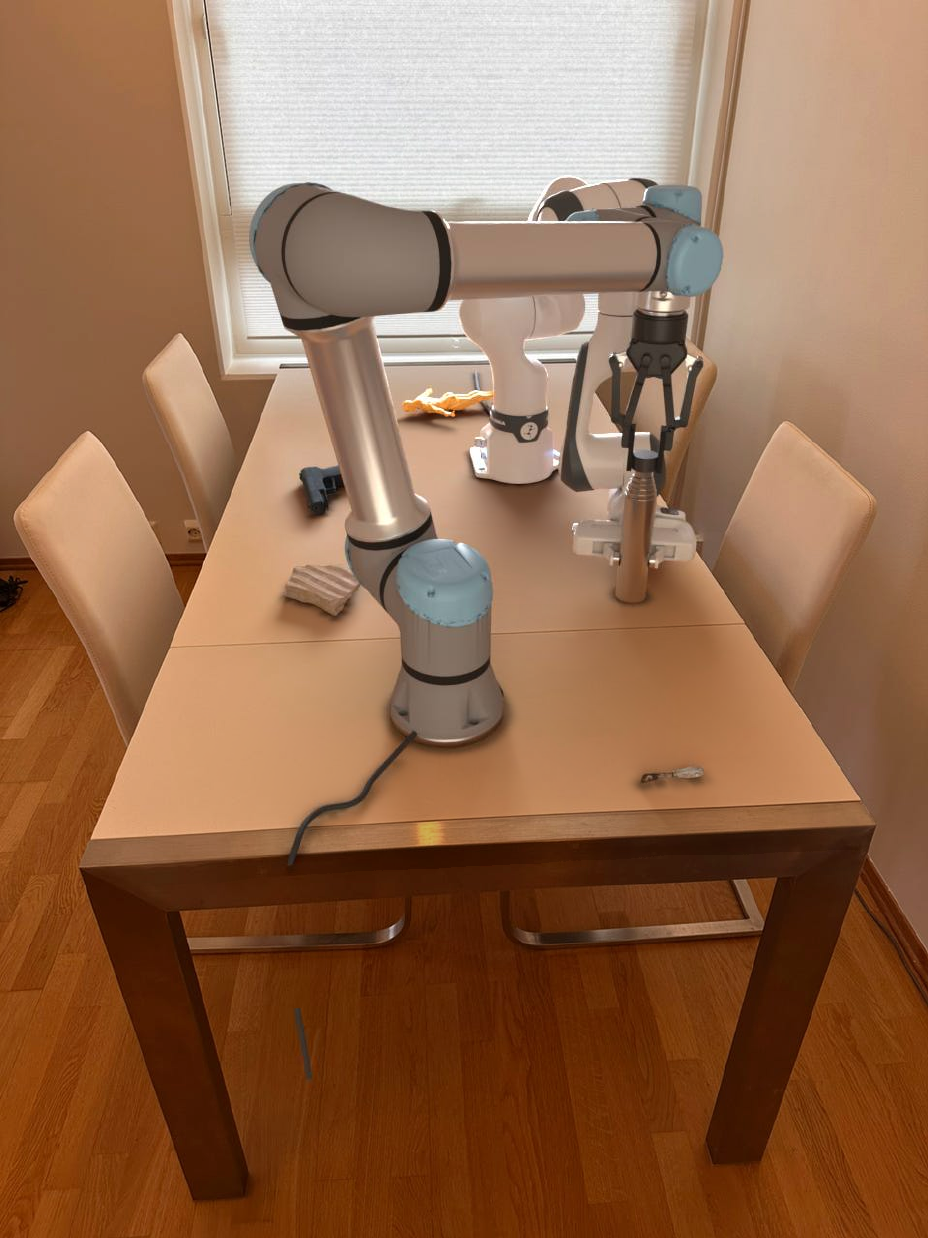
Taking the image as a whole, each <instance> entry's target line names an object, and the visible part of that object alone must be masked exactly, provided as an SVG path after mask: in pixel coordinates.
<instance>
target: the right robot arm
mask: <svg viewBox="0 0 928 1238" xmlns="http://www.w3.org/2000/svg"><path fill="white" fill-rule="evenodd" d="M655 185H659V184H658V183H657V182H656V181H654V180H652V179H649V178H642V177H631V178H628V179H615V180H605V181H599V182H596V183H594V184H589V183H588V182H586V181H585V180H583V179H581V178H579V177H576V176H572V175H564V176H560V177H557V178H555V179H554V180H552V181H551V182H550V183H549V184H548V185H547V186H546V188H545V189H544V190H543V192H542V194H540V195H541V196H540V197H539V199H538V200H537V202H536V203H535V205H534V207H533V209H532V211H531V212H530V214H529V217H528V220H527V222H565V221H566V220H567V218H568V217H569V216H570V215H572V214H573V213H575V212H581V211H587V210H590V209H592V208H594V209H609V208H624V207H636V206H640V205H643V203H642V202H643V200H644V195H645V191H646V189H647V188H648V187H651V186H655ZM597 294H598V295H597V297H598V298H597V305H598V306H597V321H596V326H595V329H594V331H593V333H592V335H591V337H590V339H589V340H587V341H585V342H584V343H582V344H581V346H580V348H579V350H578V353H577V357H576V360H575V361H576V362H575V368H574V374H573V377H572V381H571V382H572V383H571V391H570V396H569V403H568V404H569V405H568V411H567V418H566V428H565V435H564V438H563V441H562V445H561V447H560V450H559V452H558V451H557V450H555V442H554V441H555V439H554V436H555V435H554V432H553V430H552V429H551V428H550V427H549V419H550V413H549V406H548V387H549V374H548V370H547V369H546V367H545V365H544V364H543V363H542V362H541V361H540V360H538V359H536V358H534V357H532V356H531V355H528V354H526V352H525V342H526V341H531V340H541V339H548V338H556V337H559V336H562V335H565V334H567V333H570V332H574V331H575V330H577V329H578V328H579V326H580V325H581V324H582V321H583V320H584V316H585V314H586V300H585V296H584V294H576V295H556V296H535V297H514V298H493V299H472V300H461V302H460V306H459V310H458V318H459V319H458V320H459V324H460V327H461V330H462V332H463V333H464V335H465V336H466V337H467V338H468V340H470V341H471V342H472V343H474V344H475V345H476V346H477V347H479V348H480V349H481V350H482V352H483V353H484V355H485V357H486V359H487V361H488V363H489V365H490V366H489V367H490V369H491V374H492V375H491V376H492V391H493V398H492V402H493V403H491V404H492V406H491V408H490V406H489V405H488V404H487V402H486V400H485V401H482V402H481V403H482V405H483V407H484V408H485V410H486V411H487V413H488V414H489V422H488V423H487V424H486V425H485V426H483V427H482V428H481V430H480V431H479V436H478V437H477V436H476V437H474V446H473V447H470V449H469V456H470V460H471V464H472V467H473V471H474V475H475V477H477V478H480V479H489V480H492V481H493V480H494V481H497V482H500V483H506V484H518V485H523V484H524V485H525V484H532V483H539V482H542V481H544V480H545V479H547V478H549V477H550V476H551V475H552V473H553V472H554V471H556V470H558V474H559V477H560V481H561V482H562V483H563V484H564V486H566V487H568V489H570V490H572V491H573V492H575V493H583V492H592V491H595V490H609V492H608V498H607V517H606V519H593V518H585V519H582V520H580V521H579V522H575V523H573V524H572V526H571V532H572V534H573V536H572V552H573V553H574V554H575V555H577V556H588V557H602V558H604V559H605V560H606V561H608V562H609V564H608V565H609V566H611V567H612V566H613V567H614V566H615V567H618V566H619V551H620V541H621V531H622V521H623V511H624V501H625V492H626V489H627V487H628V485H629V482H630V481H631V478H632V477H633V474H634V473H635V471H634V470H633V469H631V471H626V468H627V458H628V448H622V446H621V439H622V432H621V433H601V434H599V433H598V434H595V433H592V432H589V429H590V421H591V416H592V410H593V409H592V408H593V402H594V397H595V393H596V391H597V390H598V388H599V386H601V384H603V383H604V382H605V381H607V380H608V379H610V378H612V371H611V368H610V365H609V356H610V354H611V353H612V352H616V353H619V352H621V351H624V350H626V349H627V346H628V345H629V343H630V341H631V333H632V322H633V313H634V311H635V310H636V309H638V308H637V307H636V306H635V305H634V303H635V292H618V293H597ZM632 368H634V367H633V365H632V363H631V362H630V360H629V358H627V359H626V360H625V366H624V367H623V368H622V372H625V371H627V370H629V369H632ZM473 374H474V382H475V388H476V391H480V392H482V391H481V387H480V382H479V376H478V371H477V370H474V372H473ZM659 441H660V439H659V438H658V437H657V436H656V435H655V434H654V433H652V432H650V431H641V432H640V431H635V440H634V449H633V452H634V451H637V450H651V451H654V452H656V453H658V449H659ZM555 456H557V457H558V460H557V459H555ZM652 475H653V476H654V478H653V479H654V480H655V485H656V489H657V498H658V497H659V496H660V495H661V493H662V492H663V490H664V488H665V486H666V479H667V469H666V459H665V454H664V455H663V463H662V472H661V473H656V471H654V472H652ZM686 515H687V514H686V513H685V512H684V511H682V510H678V509H674V508H669V507H666V506H665V507H664V506H662V505H660V504H658V500H657V501H656V510H655V518H654V526H653V535H652V543H651V551H650V559H649V568H648V569H659V564H661V563H663V562H664V561H669V562H684V563H689V562H692V561H693V560H694V559H695V558H696V557H695V556H696V553H697V552H696V551H697V541H698V540H697V537H696V534H695V531H694V529H693V527H692V525H691V524H690V523H689V522H688V521H687V520H686V519H687V518H686V517H687V516H686Z"/></svg>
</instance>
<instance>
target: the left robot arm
mask: <svg viewBox="0 0 928 1238" xmlns="http://www.w3.org/2000/svg"><path fill="white" fill-rule="evenodd" d="M642 203H643V205H640V206H636V207H624V208H609V209H594V208H592V209H590V210H587V211H581V212H575V213H573V214H572V215H570V216H569V217H568V218H567V220H566V221H565V222H528V221H446V220H445V219H444V217H443V216H442V215H441V213H439V212H437V211H435V210H418V209H417V210H415V209H405V208H399V207H394V206H389V205H386V204H382V203H379V202H376V201H373V200H368V199H366V198H363V197H360V196H357V195H354V194H350V193H346V192H341V191H338V190H334V189H332V188H331V187H328V186H327V185H325V184H322V183H318V182H312V181H305V182H291V183H288V184H284V185H281V186H279V187H277V188H275V189H274V190H272V191H271V192H269V193H268V194H267V195H266V196H265V197H264V198H263V199H262V200H261V202H259V204H258V206H257V207H256V209H255V211H254V214H253V216H252V217H251V221H250V225H249V231H248V232H249V233H248V242H249V243H248V244H249V249H250V254H251V257H252V260H253V262H254V264H255V266H256V267H257V269H258V272H259V273H260V274H261V276H262V277H263V279H265V280H266V281H267V282H268V283H269V284H270V287H271V290H272V293H273V294H272V295H273V297H274V300H275V303H276V306H277V311H278V313H279V316H280V319H281V322H282V325H283V328H284V330H286V331H288V332H289V333H291V334H293V335H295V336H297V337H298V338H300V340H301V342H302V346H303V351H304V354H305V357H306V360H307V364H308V367H309V370H310V373H311V378H312V380H313V384H314V387H315V391H316V395H317V397H318V401H319V404H320V407H321V410H322V415H323V418H324V421H325V424H326V429H327V431H328V434H329V438H330V442H331V445H332V449H333V452H334V455H335V458H336V462H337V465H339V469H340V472H341V476H342V479H343V482H344V486H343V487H344V489H345V492H346V495H347V499H348V503H349V506H350V509H351V511H350V512H349V513H348V515H347V517H346V518H345V521H344V530H345V533H346V536H345V541H344V554H345V560H346V562H347V565H348V568H350V569H351V572H352V574H353V575H354V577H355V578H356V580H357V581H358V582H359V583H360V586H361V587H363V588H364V589H365V590H367V591H368V592H369V594H370V595H371V596H372V598H373V599H374V600H375V601H376V602H377V603H378V604H379V605H380V606H381V607H382V609H383V610H384V611H385V612H386V613H387V614H388V615H389V617H390V618H392V620H393V621H394V622H395V623H396V625H397V626H398V630H399V633H400V634H399V635H400V655H401V667H400V669H399V672H398V675H397V678H396V681H395V684H394V687H393V690H392V693H391V696H390V718H391V721H392V724H393V725H394V727H395V728H396V729H397V731H398V732H399V733H400V734H402V735H403V736H404V737H406V738H405V739H404V740H403V741H402V742H401V743H400V744H399V745H398V747H397V748H396V749H395V750H393V752H392V753H391V754H390V755H389V756H388V757H387V758H386V759H385V760H384V761H383V762H382V764H380V766H379V767H378V768H377V769H376V770H375V771H374V772H373V774H371V775H370V777H369V778H368V780H367V781H366V783H365V785H364V786H363V789H362V791H360V794H358V795H357V796H356V797H355V798H352V799H351V800H348V801H342V802H336V803H329V804H325V805H322V806H319V807H318V808H316V809H315V810H313V811H312V812H311V813H309V814H308V815H307V816H306V817H305V818H304V820H303V821H302V822H301V823H300V825H299V828H298V829H297V832H296V834H295V837H294V840H293V843H292V845H291V850H290V852H289V855H288V858H287V862H286V866H287V867H291V866H293V865H294V864H295V861H296V857H297V854H298V852H299V848H300V845H301V842H302V839H303V836H304V833H305V831H306V829H307V827H308V826H309V825H310V824H311V823H313V821H314V820H315V819H316V818H317V817H319V816H320V815H322V814H323V813H326V812H330V811H337V810H343V809H348V808H351V807H354V806H357V805H358V804H360V803H361V802H362V801H363V800H365V799H366V797H367V795H368V794H369V792H370V790H371V788H372V786H373V784H374V783H375V782H376V781H377V779H379V777H380V776H381V775H382V774H383V772H384V771H385V770H387V768H388V767H389V766H390V765H391V764H392V763H393V762H394V761H395V760H396V759H397V758H398V757H399V755H400V754H401V753H402V752H403V751H404V750H405V749H406V748H407V747H408V746H409V745H410V743H412V741H413V742H415V743H417V744H420V745H421V744H422V745H425V746H430V747H437V748H454V747H455V748H457V747H463V746H467V745H471V744H473V743H476V742H480V741H481V740H483V739H485V738H486V737H488V736H489V735H491V734H492V733H493V732H494V731H495V730H496V729H498V727H499V726H500V724H501V722H502V720H503V717H504V698H505V694H504V690H503V688H502V687H501V684H500V683H499V681H498V679H497V677H496V674H495V672H494V668H493V666H492V664H491V654H492V653H491V651H492V649H491V648H492V647H491V645H492V602H493V599H494V590H493V582H492V574H491V568H490V565H489V563H488V561H487V560H486V558H485V557H484V555H482V554H481V553H480V552H479V551H478V550H477V549H475V548H474V547H473V546H470V545H468V544H466V543H464V542H459V543H455V540H452V539H446V538H439V537H438V535H437V531H436V527H435V523H434V518H433V515H432V510H431V506H430V503H429V501H428V500H427V499H425V498H424V497H422V496H420V495H418V494H416V493H415V488H414V485H413V480H412V476H411V472H410V468H409V464H408V463H409V462H408V460H407V456H406V452H405V447H404V443H403V439H402V435H401V431H400V427H399V423H398V419H397V414H396V410H395V406H394V402H393V397H392V394H391V393H392V392H391V389H390V385H389V381H388V378H387V377H388V376H387V374H386V373H387V372H386V369H385V364H384V361H383V357H382V356H383V355H382V352H381V349H380V348H381V347H380V344H379V340H378V335H377V332H376V328H375V323H374V319H375V318H376V317H381V316H394V315H407V314H416V313H417V314H419V313H436V312H439V311H441V310H442V309H443V308H444V307H445V305H446V304H447V303H448V302H449V301H462V300H472V299H493V298H514V297H535V296H556V295H576V294H583V295H594V294H598V293H618V292H635V303H634V305H635V306H636V307H637V308H638V309H636V310H635V311H634V313H633V322H632V333H631V341H630V343H629V345H628V346H627V349H626V350H624V351H621V352H619V353H616V352H612V353H611V354H610V356H609V365H610V368H611V371H612V377H611V401H610V402H611V405H610V407H611V408H610V421H611V423H612V424H617V425H619V426H620V427H621V429H622V430H621V433H622V439H621V446H622V448H628V458H627V468H626V471H631V469H632V459H633V449H634V440H635V432H636V430H637V429H636V428H637V423H633V421H634V417H635V413H636V410H637V407H638V403H639V400H640V397H641V394H642V390H643V388H644V385H645V382H646V379H652V378H655V379H659V380H662V390H663V391H662V392H663V402H664V414H665V415H664V416H665V424H663V425H662V424H661V426H660V432H659V449H658V461H657V469H656V473H661V472H662V463H663V455H664V456H665V451H666V452H671V451H672V449H673V445H674V435H675V431H676V430H677V429H680V428H682V429H685V428H687V427H688V426H689V420H690V416H691V409H692V405H693V399H694V394H695V388H696V384H697V378H698V376H699V375H700V373H701V372H702V370H703V368H704V358H703V356H700V355H697V356H696V355H693V354H692V353H689V352H688V348H687V346H686V338H687V331H688V322H689V313H688V312H687V310H688V309H689V308H690V307H691V299H692V298H694V297H698V296H700V295H703V294H704V293H706V292H707V291H709V290H710V289H711V288H712V286H713V285H714V284H715V282H717V279H718V278H719V276H720V273H721V270H722V266H723V260H724V246H723V243H722V241H721V239H720V237H719V236H718V235H717V233H715V231H713V230H712V229H710V228H707V227H703V226H702V208H703V193H702V192H701V190H700V189H698V188H697V187H696V186H693V185H684V184H658V185H655V186H651V187H648V188H647V189H646V191H645V195H644V200H643V202H642ZM627 358H629V360H630V362H631V363H632V365H633V367H632V368H633V369H634V370H635V372H636V374H635V378H634V383H633V385H632V389H631V393H630V394H629V395H630V396H629V399H628V403H627V405H626V409H625V413H622V412H621V398H622V397H621V396H622V375H623V373H622V372H623V371H622V368H623V367H624V366H625V360H626V359H627ZM683 362H685V370H686V372H687V374H686V380H685V385H684V390H683V396H682V402H681V407H680V413H679V416H676V417H675V405H674V393H673V391H674V390H673V379H672V378H673V377H672V375H673V374H674V373H675V372H676V370H677V369H678V368H679V367H680V366H681V365H682V363H683ZM293 1013H294V1014H293V1015H294V1019H295V1022H296V1028H297V1034H298V1038H299V1043H300V1048H301V1053H302V1060H303V1065H304V1072H305V1079H306V1080H307V1081H310V1080H312V1079H313V1076H312V1069H311V1061H310V1054H309V1050H308V1048H309V1047H308V1043H307V1038H306V1034H305V1028H304V1023H303V1018H302V1013H301V1008H300V1007H297V1008H294V1009H293Z"/></svg>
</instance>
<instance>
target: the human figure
mask: <svg viewBox="0 0 928 1238" xmlns="http://www.w3.org/2000/svg"><path fill="white" fill-rule="evenodd" d="M424 391H425V392H423V393H422V394H420V395H418V396H416V398H415V399H414V400H404V401H403V402H402V411H404V412H405V413H410V414H412V413H414V412H417V408H418V409H420V410H421V411H423V412H424V413H427V414H439V415H443V416H444V417H449V416H450V417H451V418H452V417H453V418H454V417H455V416H456V414H455V411H462V410H464V409H467V408H469V407H471V406H473V405H476V404H478V403H482V401H485V402H486V401H488V400H493V390H491V391H481V390H480V391H481V392H480V391H477V389H476V390H473V391H470V392H469V393H468V394H460V393H457V394H455V393H453V392H446V393H444V394H443V395H442V396H441V397H440V398H434V397H429V396H430V395H432V394H433V392H434V391H433V389H432V385H429V387H428V389H424ZM450 410H452V411H450Z"/></svg>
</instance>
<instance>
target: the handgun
mask: <svg viewBox="0 0 928 1238" xmlns="http://www.w3.org/2000/svg"><path fill="white" fill-rule="evenodd" d="M298 475H299V480H300V481H301V482H302V485H303V488H304V493H305V495H306V499H307V500H308V505H306V508H308V509H310V510H311V512H312V514H314V515H322V514H324V513H325V508H326V509H327V511H328V510H329V509H330V507H329V506H330V505H329V498H328V496H332V495H335V494H336V492H337V491H336V488H340V487H345V486H344V482H343V479H342V476H341V472H340V469H339V465H338V464H337V465H333V466H330V467H326V468H320V467H318V466H308V467H303V468H302V469H301V470H300V472H298Z"/></svg>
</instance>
